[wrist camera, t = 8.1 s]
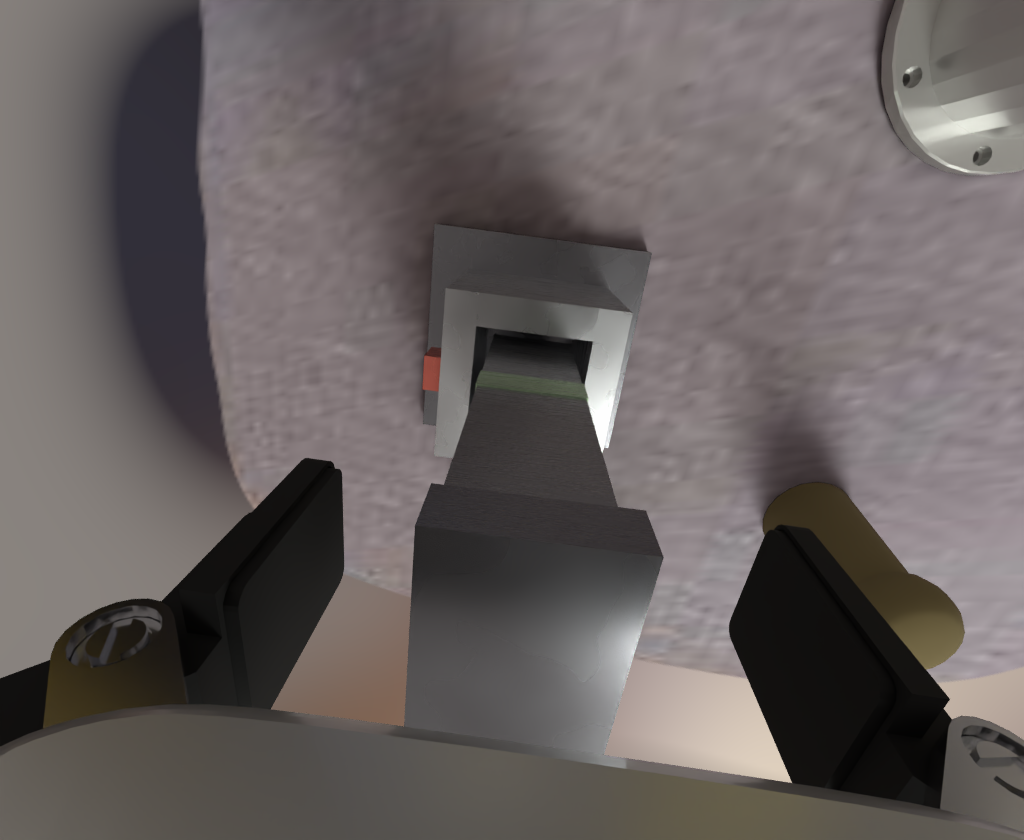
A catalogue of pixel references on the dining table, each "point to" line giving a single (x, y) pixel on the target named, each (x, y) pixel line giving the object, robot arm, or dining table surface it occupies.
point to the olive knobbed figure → (874, 569)
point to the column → (527, 566)
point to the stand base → (526, 316)
